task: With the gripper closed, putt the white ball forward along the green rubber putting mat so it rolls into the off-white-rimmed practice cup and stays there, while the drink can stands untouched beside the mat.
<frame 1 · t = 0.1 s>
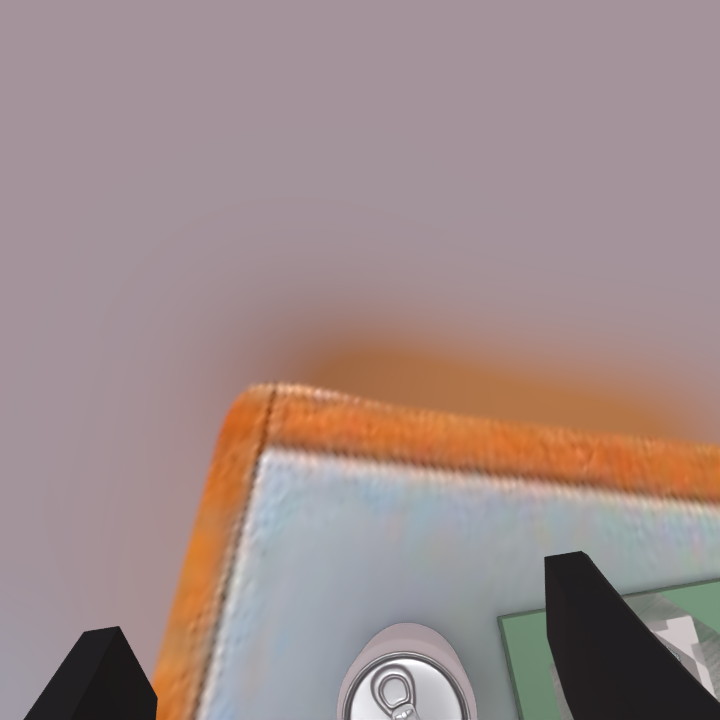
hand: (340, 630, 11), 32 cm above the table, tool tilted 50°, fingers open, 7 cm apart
can: (409, 678, 40), on the table
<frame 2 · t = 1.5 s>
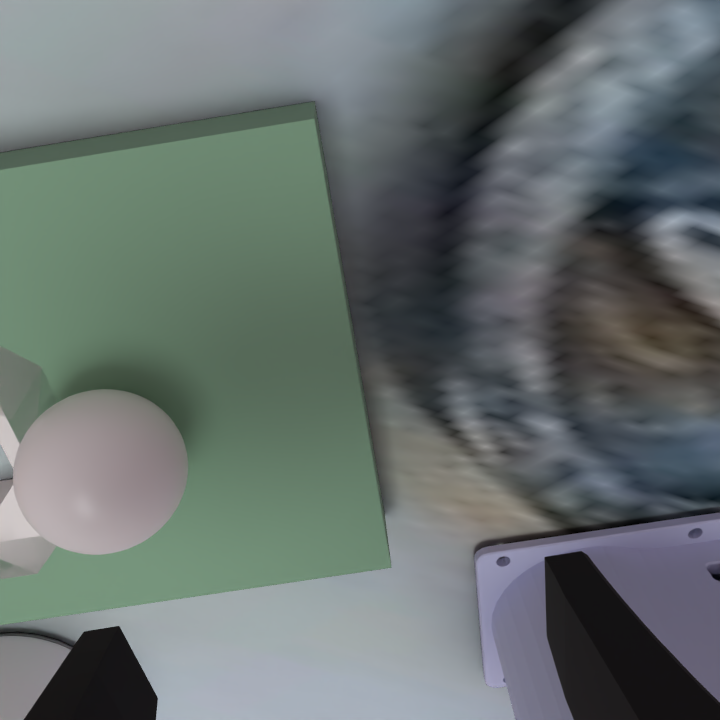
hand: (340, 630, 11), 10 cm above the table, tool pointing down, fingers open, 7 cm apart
putting mat: (64, 389, 20), on the table
ball: (104, 470, 16), point 4 cm above the table, touching putting mat
can: (29, 675, 27), on the table
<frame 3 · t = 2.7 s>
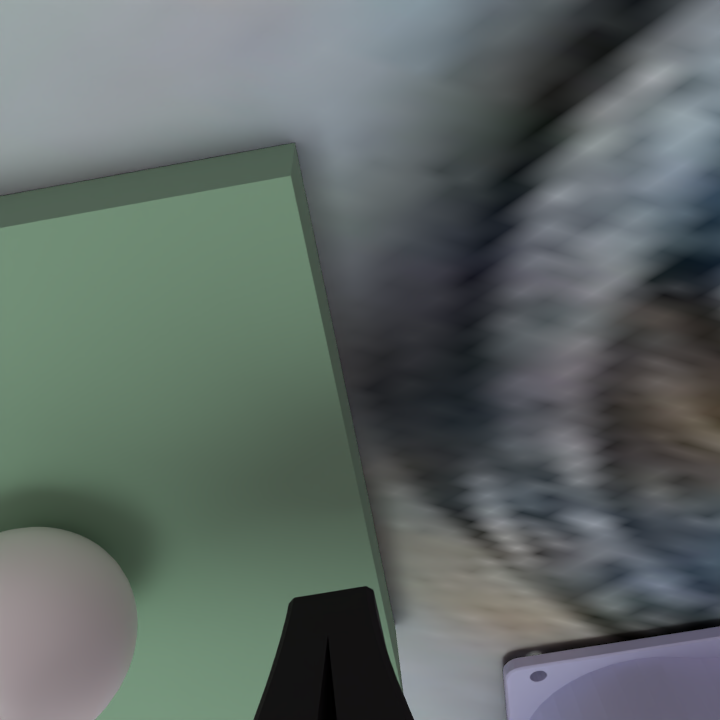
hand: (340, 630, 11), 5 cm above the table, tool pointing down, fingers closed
ball: (24, 637, 12), point 4 cm above the table, touching putting mat
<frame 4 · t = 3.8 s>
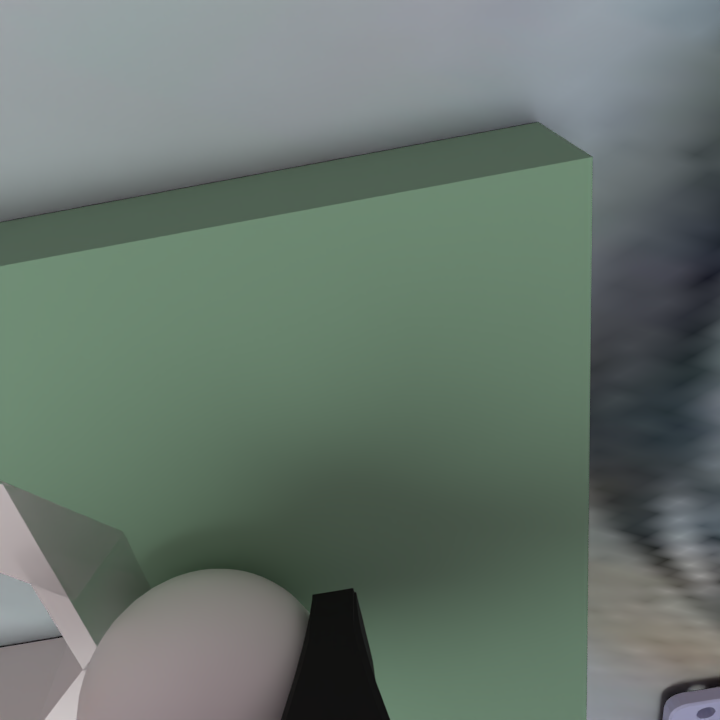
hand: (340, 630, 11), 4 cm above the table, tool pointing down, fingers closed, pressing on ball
putting mat: (139, 528, 14), on the table
ball: (211, 698, 11), point 4 cm above the table, tilted 8°, touching gripper, putting mat
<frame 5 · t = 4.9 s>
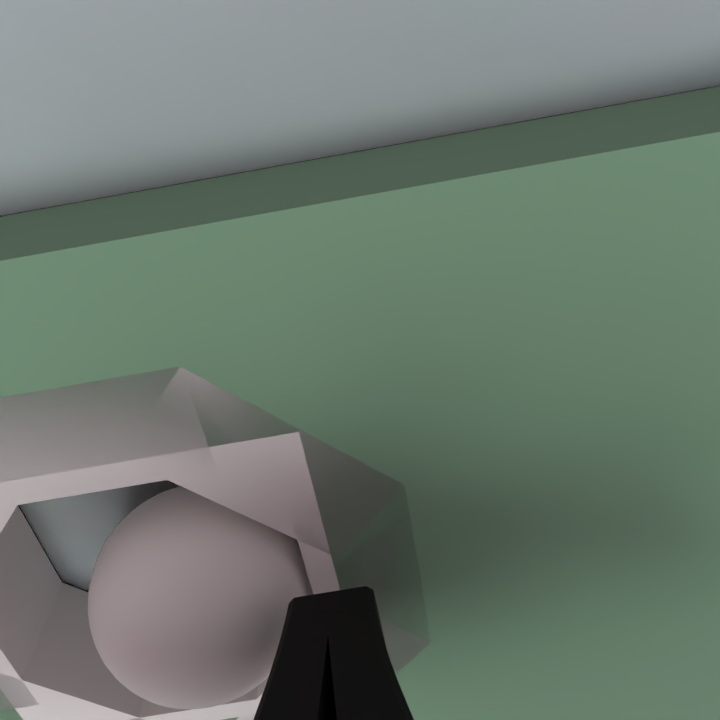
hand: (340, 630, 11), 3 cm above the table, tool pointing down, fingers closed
putting mat: (357, 490, 14), on the table
ball: (201, 590, 13), point 2 cm above the table, tilted 174°
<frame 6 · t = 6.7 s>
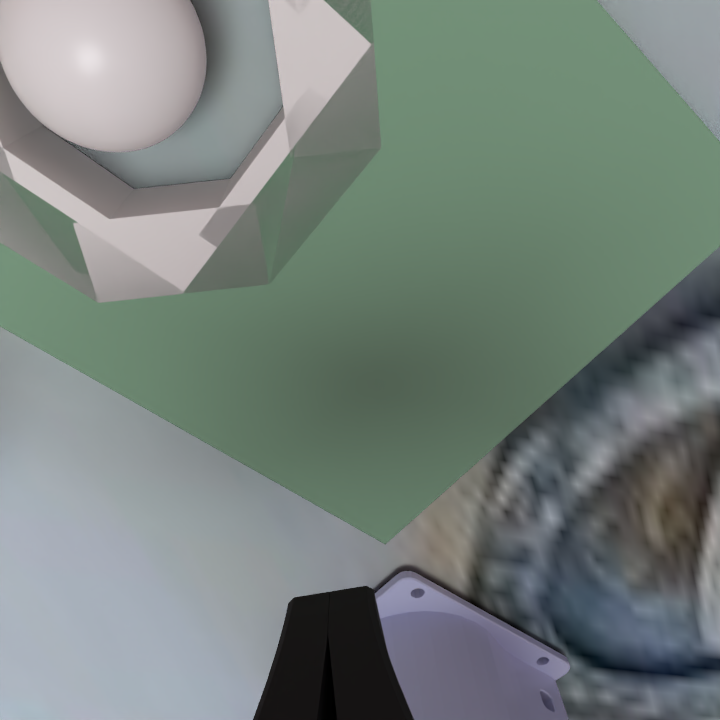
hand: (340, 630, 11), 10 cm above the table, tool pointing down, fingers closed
putting mat: (290, 165, 17), on the table
ball: (106, 50, 14), point 2 cm above the table, tilted 139°
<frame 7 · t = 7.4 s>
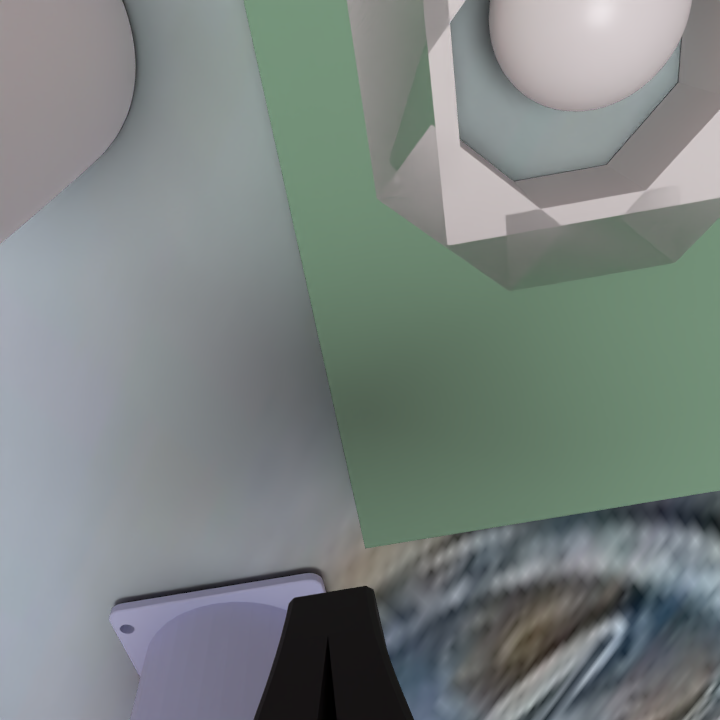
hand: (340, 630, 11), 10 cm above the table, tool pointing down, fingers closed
putting mat: (560, 209, 18), on the table
ball: (586, 9, 14), point 2 cm above the table, tilted 128°
can: (0, 40, 15), on the table
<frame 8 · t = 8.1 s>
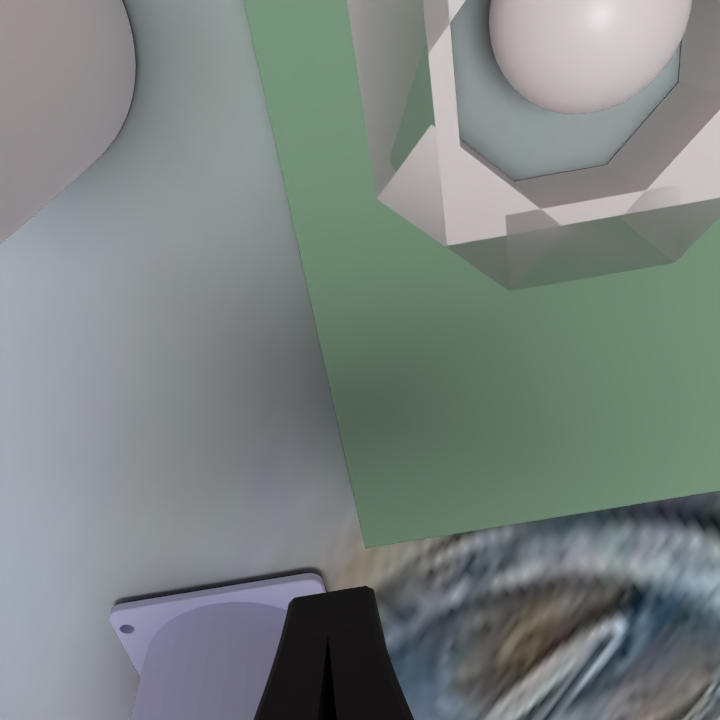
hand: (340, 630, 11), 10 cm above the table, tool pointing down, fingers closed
putting mat: (560, 209, 18), on the table
ball: (586, 12, 14), point 2 cm above the table, tilted 129°
can: (0, 40, 15), on the table
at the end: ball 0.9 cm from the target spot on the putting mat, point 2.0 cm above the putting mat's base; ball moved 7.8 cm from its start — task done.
